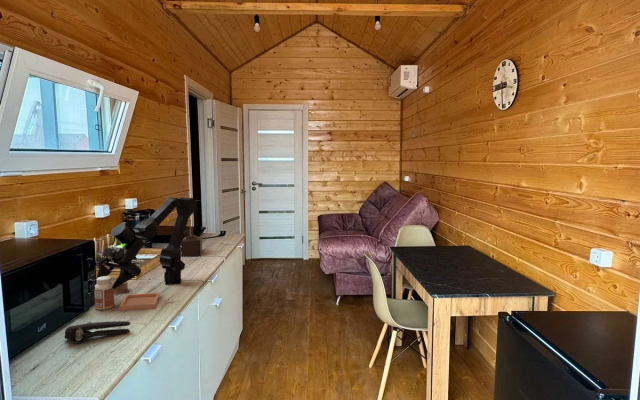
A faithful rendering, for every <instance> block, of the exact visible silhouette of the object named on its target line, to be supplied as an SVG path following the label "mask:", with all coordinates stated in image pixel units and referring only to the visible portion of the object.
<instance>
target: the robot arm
mask: <svg viewBox="0 0 640 400" xmlns="http://www.w3.org/2000/svg"><path fill="white" fill-rule="evenodd" d="M197 203H198V202H197V201H196V198H194V197H185V196H181V197H179V198H177V197H173V196H172V197H171V196H170V197H167V198H166V200H165V201H164V202H163V203H162V205H160V206H159V207H158V209H156V210H155V211H154V213H152V214H151V216H149V217H148V218H146V219H143V220H141V221H139V223H137V224H136V225H135V226H134V227H131V226H130V224H129V223H128V222H125V221H122V222H121V223H120V224H117V225H116V226H115V227H113V228H112V229H111V232H110V235H111V236H112V237H113V238H115V240H117V241H118V242H119V243H120V244H121V245H124V246H122V247H117V248H115V249H114V248H110V247H105V248H104V249H103V253H102V254H101V256H100V257H98V258H97V259H96V260H95V263H96V265H97V266H98V271H97V274H96V279H95V281H96V284H97V278H99V277H102V276H109V275H110V274H112V271H114V269H119V274H118V276H117V278H116V279H115V280H114V281H115V282H114V284H113V286H112V288H113V289H115V288H117V287H118V286H120V285H121V284H123V283H125V282H126V281H127V282H128V281H130V280H132V279H135V278H137V277H140V276H141V274H142V268H141V267H139V266H138V265H137V264H136V263H135V262H133V261H136V260H137V259H138V257H137V255H138V253H139V252H140V251H141V249H142V248H143V249H148V248H149V247H148V244H147V243H148V242H147V240H151V239H153V237H154V236H155V235H156V233H157V232H158V230H159V227H160V225H161V223H163V222H164V220H166V218H167V217H168V216H169V215H170V214H171V213H172V212H173V211H174V210H175V209H176V214H177V217H176V219H175V223H174V227H173V228H172V232H171V236H170V239H169V242H168V245H167V246H166V247H165V248H161V251H160V255H159V257H158V258H159V263H160V265H161V268H162V269H163V270H165V271H164V273H163V276H164V277H163V278H164V279H163V281H164V282H163V283H164V285H166V286H167V285H180V284H181V285H182V271H183V270H185V268H186V263H185V262H184V261H183V260H181V258H182V251H181V246H182V240H183V239H184V235H185V233H186V232H185V231H186V228H187V225H188V221H189V218H190V217H191V216H192V215H193V214H194V213H195V211H196V208H197V205H198V204H197ZM143 239H145V240H143ZM96 284H95V285H96Z"/></svg>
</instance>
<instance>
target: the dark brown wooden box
mask: <svg viewBox="0 0 640 400" xmlns="http://www.w3.org/2000/svg"><path fill="white" fill-rule="evenodd" d="M189 232H191V233H190V234H189V235H188V236H184V237H183V239H182V242H181V258H185V257H186V258H188V257H189V258H193V257H198V258H199V256H200V257H202V256H201V255H202V254H203V236H197V235H195V234H194V226H190V229H187V230H185V232H184V233H189Z"/></svg>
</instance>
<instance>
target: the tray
mask: <svg viewBox="0 0 640 400" xmlns="http://www.w3.org/2000/svg"><path fill="white" fill-rule="evenodd" d="M159 300H160V292H148V293H134V294H133V293H132V294H125V296H124V298H123V300H122V302H121V303H120V305H119V311H120V312H123V311H124V312H125V311H135V310H136V311H137V310H139V311H140V310H149V309H157V305H158V302H159Z"/></svg>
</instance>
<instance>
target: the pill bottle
mask: <svg viewBox="0 0 640 400" xmlns="http://www.w3.org/2000/svg"><path fill="white" fill-rule="evenodd" d="M96 278H97V277H96ZM112 286H113V282H112V277H111V276H109V275H108V276H102V277H99V278H97V284H95V285H94V287H95V289H94V308H95V309H96V310H99V311H100V310H101V311H102V310H108V309H112V308H113V307H114V306H115V294H114V289H113V288H112Z"/></svg>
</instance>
